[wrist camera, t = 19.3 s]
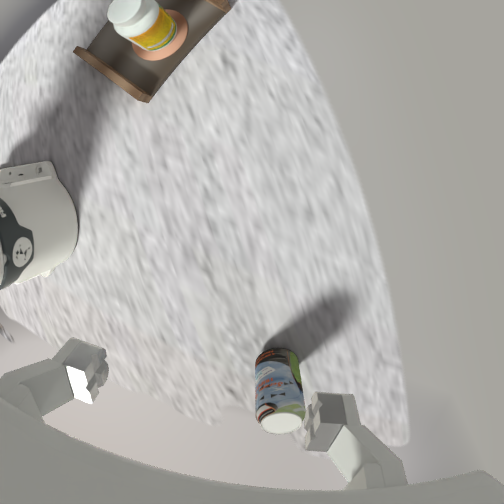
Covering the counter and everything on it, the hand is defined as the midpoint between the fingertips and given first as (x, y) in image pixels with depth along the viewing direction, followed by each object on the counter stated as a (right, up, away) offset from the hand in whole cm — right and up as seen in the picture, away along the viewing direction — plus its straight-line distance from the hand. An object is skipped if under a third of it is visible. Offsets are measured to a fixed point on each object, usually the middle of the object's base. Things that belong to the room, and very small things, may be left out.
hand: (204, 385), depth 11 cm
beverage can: (+6, -11, +33) cm, 35 cm away
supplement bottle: (-10, +32, +20) cm, 39 cm away
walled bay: (-11, +33, +20) cm, 41 cm away
